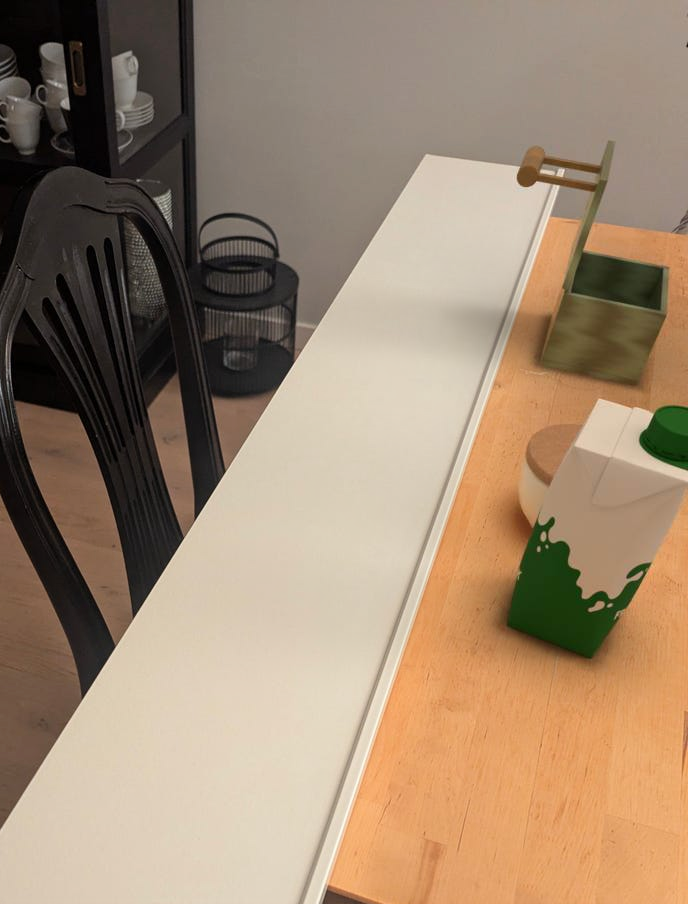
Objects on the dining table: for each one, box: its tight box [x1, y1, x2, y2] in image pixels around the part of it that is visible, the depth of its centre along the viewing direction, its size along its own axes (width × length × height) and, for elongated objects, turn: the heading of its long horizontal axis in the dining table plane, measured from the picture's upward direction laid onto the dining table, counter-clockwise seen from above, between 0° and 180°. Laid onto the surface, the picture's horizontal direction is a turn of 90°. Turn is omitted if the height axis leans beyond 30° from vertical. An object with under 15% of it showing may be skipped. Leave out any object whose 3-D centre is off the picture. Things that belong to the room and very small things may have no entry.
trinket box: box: [517, 423, 583, 530], centre depth 83 cm, size 11×11×9 cm
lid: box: [516, 140, 616, 290], centre depth 102 cm, size 12×13×9 cm
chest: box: [539, 249, 670, 387], centre depth 107 cm, size 11×13×9 cm
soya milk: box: [506, 398, 688, 659], centre depth 70 cm, size 9×9×20 cm
